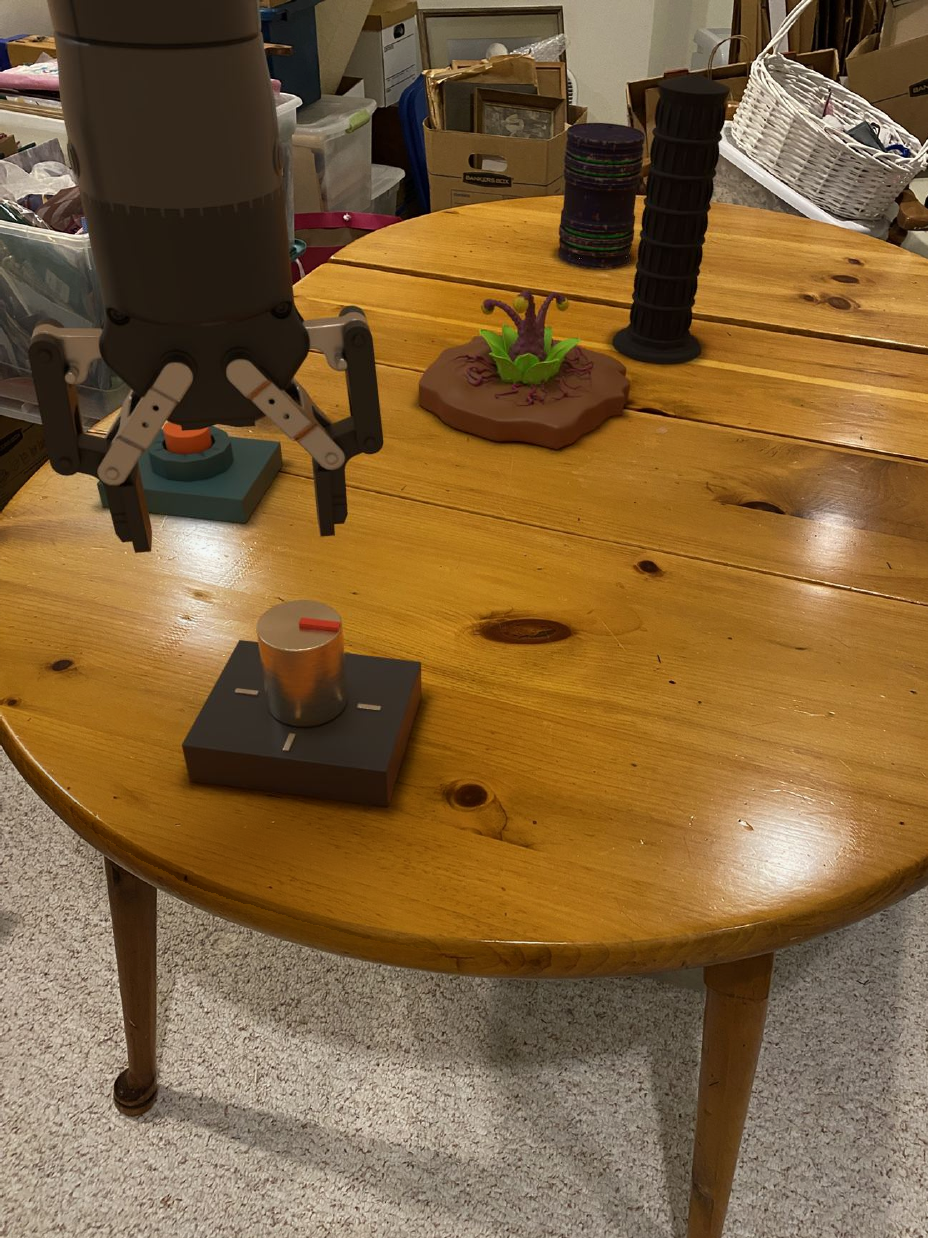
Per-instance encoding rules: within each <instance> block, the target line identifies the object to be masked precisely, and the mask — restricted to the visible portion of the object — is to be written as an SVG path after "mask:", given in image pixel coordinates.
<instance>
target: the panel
mask: <svg viewBox="0 0 928 1238" xmlns="http://www.w3.org/2000/svg"><path fill="white" fill-rule="evenodd" d="M344 655H345V668H346V682H347V695H348V699H347V704H346V706H345V708H344V709H343V711H342V712H341V713H340V714H339V715H338V716H337V717H335V718H334V719H332V720H330V721H328V722H326V723H323V724H320V725H316V726H308V727H299V726H292V725H288V724H285V723H283V722H281V721H279V720H277V719H276V718H275V717H274V716H273V715H272V714H271V713H270V711H269V709H268V706H267V699H266V693H265V686H264V679H263V672H262V665H261V658H260V651H259V644H258V641H254V640H244V639H239V640H238V642H237V643H236V645H235V647H234V649H233V651H232V652H231V655H230V656H229V659H228V660H227V662H226V663H225V665H224V667H223V669H222V671H221V673H220V674H219V677H218V678H217V679H216V682H215V683H214V685H213V687H212V689H211V691H210V692H209V695H208V696H207V698H206V700H205V702H204V703H203V705H202V707H201V709H200V711H199V713H198V714H197V716H196V717H195V720H194V722H193V724H192V725H191V727H190V729H189V731H188V732H187V735H186V736H185V738H184V740H183V742H182V744H181V749H182V753H183V757H184V763H185V765H186V769H187V775H188V780H189V781H190V782H196V783H203V784H210V785H211V784H212V785H217V786H218V785H219V786H227V787H234V788H242V789H250V790H257V791H265V792H273V793H278V794H279V793H280V794H287V795H294V796H302V797H310V798H316V799H325V800H333V801H341V802H347V803H355V804H356V803H357V804H362V805H370V806H378V807H386V808H387V807H389V804H390V801H391V798H392V795H393V792H394V788H395V785H396V781H397V778H398V775H399V772H400V768H401V766H402V762H403V759H404V755H405V753H406V749H407V745H408V743H409V739H410V736H411V733H412V729H413V725H414V722H415V719H416V716H417V713H418V709H419V707H420V703H421V700H422V662H421V661H416V660H407V659H401V658H392V657H384V656H383V657H382V656H377V655H376V656H375V655H367V654H361V653H360V654H358V653H351V652H344Z"/></svg>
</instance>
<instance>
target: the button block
mask: <svg viewBox="0 0 928 1238" xmlns="http://www.w3.org/2000/svg"><path fill="white" fill-rule="evenodd" d="M209 428H210V434H211V441H212V446H211V448H210V449H207V450H205V451H203V452H201V453H194V454H187V455H184V454H175V453H171V452H169V451H168V450H167V447H166V442H165V437H164V431H163V428H161V430H160V431H159V433H158V434H157V436H156V438H155V439H154V441H153V442H152V444H151V445H150V447H149V448H148V450H147V451H144V452H143V453H142V455H141V456H140V458H139V459H138V461H137V462H138V466H139V470H140V475H141V480H142V484H143V489H144V494H145V499H146V503H147V508H148V513H151V514H161V515H168V516H169V515H170V516H177V517H178V516H179V517H184V518H185V517H187V518H196V519H204V520H213V521H221V522H230V523H239V524H246V523H247V522H248V521H249V519H250V517H251V516H252V515H253V512H254V511H255V509H256V508H257V506H258V504H259V503H260V501H261V500H262V498H263V497H264V496H265V494H266V492H267V490H268V489H269V487H270V486H271V484H272V483H273V481H274V479H275V478H276V476H277V475H278V473H279V472H280V470H281V469H282V466H283V464H284V462H283V454H282V443H281V441H275V440H265V439H256V438H247V437H241V436H239V437H237V436H229V434H228V432H227V431H225V430H224V429H222V428H218V427H217V426H216V425H213V426H210V427H209ZM96 487H97V490H98V495H99V499H100V503H101V506H102V508H106V509H107V508H108V509H109V505H108V501H107V496H106V492H105V488H104V486H103V484H102V483H101V482H100V481H99V480H98V481H97V482H96Z"/></svg>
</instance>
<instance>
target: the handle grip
mask: <svg viewBox="0 0 928 1238" xmlns="http://www.w3.org/2000/svg"><path fill="white" fill-rule="evenodd" d="M657 87H658V94H659V98H658V100H657V102H656V105H655V112H654V125H655V127H654V128H653V129H652V131H651V133H652V135H653V138H652V141H651V143H650V151H649V159H650V163H649V164H648V166H647V170H648V175H647V178H646V183H645V197H644V199H643V205H644V208H643V210H642V215H641V223H640V224H641V230H640V231H639V238H640V240H639V243H638V248H637V261H636V263H635V269H636V272H635V274H634V278H633V291H632V294H631V299H632V300H633V301H632V304H631V306H630V311H629V322H630V323H629V324H628V325H627V327H624V328H622V329H620V330H619V331H616V333H615V334H614V336H613V338H611V343H612V344H611V345H612V346H613V348H614V349H615V350H616V351H617V352H619V353H620V354H621V355H623V356H625V357H627V358H630V359H633V360H637V361H640V362H644V363H645V362H646V363H652V364H661V365H670V364H671V365H672V364H673V365H674V364H681V363H686V362H690V361H693V360H694V359H697V358H698V357H699V356H700V355H701V354H702V350H703V349H702V345H701V342H700V341H699V339H697V337H695V336H694V335H693V334H691V330H690V328H691V326H692V323H693V307H694V306H695V305H696V299H695V297H696V295H697V291H698V286H699V283H698V281H699V280H698V279H699V278H698V277H699V276H700V273H701V270H700V266H701V264H702V263H703V262H702V261H703V256H704V252H703V249H704V248H703V245H704V244H705V243H706V237H705V235H706V233H707V230H708V227H709V226H708V225H709V212H710V211H711V209H712V206H711V203H710V202H711V200H712V198H713V195H714V190H715V189H714V187H715V186H714V178H715V177H716V175H717V170H716V168H717V166H718V163H719V158H720V153H721V152H720V142H721V141H722V140H723V135H722V130H723V128H724V127H725V123H726V116H727V113H726V112H727V111H726V105H725V104H726V101H727V99H728V96H729V94H730V92H731V87H729V86H728V85H727V84H724V83H721V82H719V81H716V80H714V79H711V78H708V77H706V76H704V75H702V74H698V73H692V74H686V75H682V76H681V75H680V76H677V77H671V78H667V79H662V80H659V81H658V82H657Z"/></svg>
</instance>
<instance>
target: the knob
mask: <svg viewBox="0 0 928 1238" xmlns="http://www.w3.org/2000/svg"><path fill="white" fill-rule="evenodd" d="M255 628H256V636H257V637H256V638H257V642H258V644H259V651H260V658H261V665H262V672H263V679H264V686H265V693H266V699H267V706H268V709H269V711H270V713H271V714H272V715H273V716H274V717H275V718H276V719H277V720H279V721H281V722H283V723H285V724H288V725H292V726H299V727H308V726H316V725H320V724H323V723H326V722H328V721H330V720H332V719H334V718H335V717H337V716H338V715H339V714H340V713H341V712H342V711H343V709H344V708H345V706H346V704H347V699H348V695H347V682H346V668H345V655H344V653H345V641H344V629H343V628H344V627H343V620H342V618H341V615H340V614H339V612H338V611H337V610H336V609H335V608H334V607H332V606H331V605H328V604H326V603H323V602H322V601H321V602H320V601H318V600H310V599H295V600H290V601H284V602H282V603H279V604H275V605H274V606H272V607H269V609H266V611H264V612H263V613H262V614H261V616H260V617H259V619H258V620H257V623H256V627H255Z"/></svg>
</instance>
